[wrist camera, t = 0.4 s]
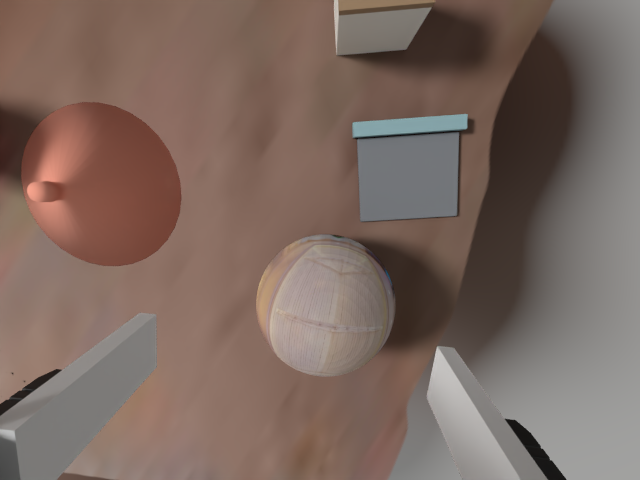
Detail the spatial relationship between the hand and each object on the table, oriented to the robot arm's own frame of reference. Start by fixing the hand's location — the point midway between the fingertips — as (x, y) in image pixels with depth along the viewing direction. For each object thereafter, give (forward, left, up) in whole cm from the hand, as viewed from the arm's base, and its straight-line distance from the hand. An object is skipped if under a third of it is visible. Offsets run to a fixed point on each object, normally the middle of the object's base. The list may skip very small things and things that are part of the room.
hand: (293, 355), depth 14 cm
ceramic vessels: (-11, -33, -27) cm, 44 cm away
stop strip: (-13, +12, -27) cm, 32 cm away
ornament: (+6, +1, -27) cm, 27 cm away
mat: (-7, +12, -27) cm, 30 cm away
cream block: (-24, +8, -27) cm, 37 cm away
